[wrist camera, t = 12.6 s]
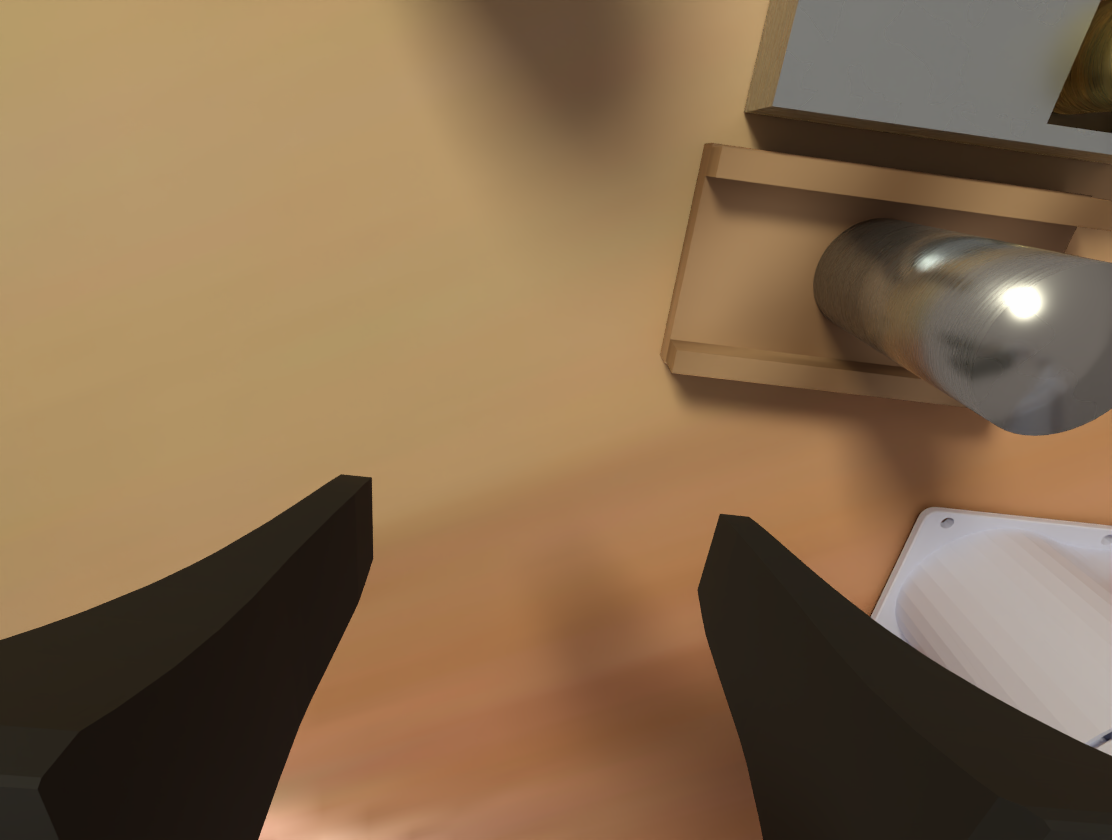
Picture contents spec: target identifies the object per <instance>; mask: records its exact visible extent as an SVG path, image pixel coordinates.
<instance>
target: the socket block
mask: <svg viewBox="0 0 1112 840" xmlns="http://www.w3.org/2000/svg"><path fill="white" fill-rule="evenodd" d="M1100 1H1101V0H770V3H769V8H768V12H767V16H766V21H765V25H764V29H763V34H762V38H761V42H760V46H759V51H758V55H757V59H756V64H755V68H754V72H753V76H752V81H751V85H750V89H749V94H748V98H747V102H746V106H745V111H744V112H746V113H753V114H760V115H767V116H774V117H781V118H788V119H795V120H802V121H809V122H816V123H823V124H830V125H837V126H844V127H851V128H859V129H866V130H873V131H880V132H887V133H894V134H901V135H908V136H915V137H922V138H929V139H936V140H943V141H950V142H957V143H964V144H971V145H978V146H985V147H992V148H999V149H1006V150H1013V151H1020V152H1027V153H1034V154H1041V155H1048V156H1055V157H1062V158H1069V159H1076V160H1084V161H1091V162H1098V163H1105V164H1112V131H1111V133H1107V132H1100V131H1093V130H1086V129H1079V128H1072V127H1066V126H1059V125H1052V124H1047V122H1048V120H1049V118H1050V115H1051V113H1052V111H1053V108H1054V106H1055V104H1056V101H1057V99H1058V97H1059V95H1060V92H1061V90H1062V88H1063V85H1064V83H1065V81H1066V79H1067V76H1068V74H1069V72H1070V69H1071V67H1072V65H1073V63H1074V60H1075V58H1076V56H1077V53H1078V51H1079V49H1080V47H1081V44H1082V42H1083V40H1084V37H1085V35H1086V33H1087V31H1088V28H1089V26H1090V24H1091V21H1092V19H1093V17H1094V15H1095V12H1096V10H1097V8H1098V5H1099V3H1100Z"/></svg>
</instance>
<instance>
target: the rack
mask: <svg viewBox="0 0 1112 840" xmlns="http://www.w3.org/2000/svg"><path fill="white" fill-rule="evenodd" d="M1091 197H1092V196H1089V195H1082V194H1075V193H1068V192H1060V191H1053V190H1046V189H1039V188H1032V187H1024V186H1017V185H1010V184H1003V183H996V182H988V181H981V180H974V179H967V178H960V177H952V176H945V175H938V174H931V173H924V172H916V171H909V170H902V169H895V168H888V167H880V166H873V165H866V164H859V163H852V162H844V161H837V160H830V159H823V158H816V157H808V156H801V155H794V154H787V153H780V152H772V151H765V150H758V149H751V148H744V147H736V146H729V145H722V144H715V143H708V144H705V145H704V150H703V154H702V159H701V164H700V169H699V173H698V178H697V183H696V188H695V192H694V197H693V202H692V206H691V211H690V216H689V221H688V225H687V230H686V235H685V240H684V244H683V249H682V254H681V259H680V263H679V268H678V273H677V277H676V282H675V287H674V292H673V296H672V301H671V306H670V311H669V315H668V320H667V325H666V329H665V334H664V339H663V344H662V348H661V353H660V355H661V357H662V359H663V361H664V363H665V364H667V365H668V367H669V369H670V370H671V372H672V373H675V374H684V375H692V376H701V377H709V378H718V379H727V380H735V381H744V382H752V383H761V384H769V385H778V386H787V387H795V388H804V389H812V390H821V391H829V392H838V393H846V394H855V395H864V396H872V397H881V398H889V399H898V400H906V401H915V402H924V403H932V404H941V405H949V406H958V407H966V406H964V405H963V404H961V403H959V402H958V401H956V400H955V399H953V398H951V397H950V396H948V395H947V394H945V393H944V392H942V391H940V390H939V389H937V388H936V387H934V386H932V385H931V384H929V383H928V382H926V381H924V380H923V379H921V378H920V377H918V376H916V375H915V374H913V373H912V372H910V371H908V370H907V369H905V368H904V367H902V366H900V365H899V364H897V363H896V362H894V361H892V360H891V359H889V358H888V357H886V356H884V355H883V354H881V353H880V352H878V351H876V350H875V349H873V348H872V347H870V346H869V345H867V344H865V343H864V342H862V341H861V340H859V339H857V338H856V337H854V336H853V335H851V334H849V333H848V332H846V331H845V330H843V329H841V328H840V327H838V326H837V325H835V324H833V323H832V322H830V321H829V320H828V319H827V318H826V317H825V316H824V315H823V314H822V313H821V311H820V310H819V308H818V306H817V304H816V301H815V298H814V292H813V280H814V274H815V270H816V267H817V265H818V262H819V260H820V258H821V256H822V254H823V253H824V251H825V250H826V248H827V247H828V246H829V245H830V243H831V242H832V241H833V240H834V239H835V238H836V237H837V236H838V235H840V234H841V233H842V232H843V231H845V230H846V229H848V228H850V227H851V226H853V225H855V224H857V223H860V222H863V221H866V220H870V219H874V218H890V219H895V220H900V221H905V222H910V223H915V224H920V225H925V226H930V227H935V228H940V229H945V230H950V231H955V232H960V233H965V234H970V235H975V236H980V237H985V238H990V239H995V240H1000V241H1005V242H1010V243H1014V244H1019V245H1024V246H1029V247H1034V248H1039V249H1044V250H1049V251H1054V252H1059V253H1064V252H1065V250H1066V248H1067V246H1068V244H1069V242H1070V240H1071V238H1072V236H1073V234H1074V232H1075V230H1076V228H1077V226H1078V227H1085V228H1093V229H1100V230H1108V231H1111V230H1112V200H1105V199H1098V198H1091ZM966 408H967V407H966Z"/></svg>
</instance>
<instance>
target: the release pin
mask: <svg viewBox="0 0 1112 840" xmlns="http://www.w3.org/2000/svg"><path fill="white" fill-rule="evenodd" d="M1108 111H1112V0H1105V1H1101V2H1100V3H1099V5H1098V8H1097V10H1096V12H1095V15H1094V17H1093V19H1092V21H1091V24H1090V26H1089V28H1088V31H1087V33H1086V35H1085V37H1084V40H1083V42H1082V44H1081V47H1080V49H1079V51H1078V53H1077V56H1076V58H1075V60H1074V63H1073V65H1072V67H1071V69H1070V72H1069V74H1068V76H1067V79H1066V81H1065V83H1064V85H1063V88H1062V90H1061V92H1060V95H1059V97H1058V99H1057V101H1056V104H1055V106H1054V108H1053V112H1055V113H1059V114H1067V115H1068V114H1081V113H1094V112H1108Z"/></svg>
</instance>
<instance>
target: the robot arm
mask: <svg viewBox="0 0 1112 840" xmlns="http://www.w3.org/2000/svg"><path fill="white" fill-rule="evenodd" d="M946 518H947V519H946ZM944 519H946V520H945V521H944V522H942V521H943V520H944ZM372 561H373V523H372V478H371V477H361V476H351V475H342V474H341V475H340V476H338V477H336V478H335V479H333V480H331V481H330V482H328V483H327V484H325V485H324V486H322V487H321V488H319V489H318V490H316V491H315V492H313V493H312V494H310V495H309V496H307V497H306V498H304V499H303V500H301V501H300V502H298V503H297V504H295V505H294V506H292V507H290V508H289V509H287V510H286V511H284V512H283V513H281V514H280V515H278V516H276V517H275V518H273V519H272V520H270V521H269V522H267V523H265V524H264V525H262V526H260V527H259V528H257V529H255V530H254V531H252V532H250V533H248V534H247V535H245V536H243V537H242V538H240V539H238V540H236V541H235V542H233V543H231V544H230V545H228V546H226V547H224V548H223V549H221V550H219V551H217V552H216V553H214V554H212V555H210V556H208V557H206V558H204V559H202V560H200V561H198V562H196V563H194V564H193V565H191V566H188V567H186V568H184V569H182V570H180V571H178V572H176V573H174V574H172V575H170V576H168V577H165V578H163V579H161V580H159V581H157V582H155V583H152V584H150V585H148V586H146V587H143V588H141V589H138V590H136V591H133V592H131V593H128V594H126V595H123V596H121V597H119V598H116V599H114V600H111V601H109V602H106V603H104V604H101V605H99V606H97V607H94V608H92V609H89V610H87V611H84V612H81V613H79V614H76V615H73V616H70V617H68V618H65V619H62V620H59V621H56V622H54V623H51V624H48V625H45V626H42V627H39V628H36V629H33V630H30V631H27V632H24V633H21V634H18V635H15V636H12V637H9V638H6V639H3V640H0V840H258V838H259V836H260V833H261V830H262V827H263V824H264V821H265V819H266V816H267V813H268V810H269V807H270V805H271V802H272V799H273V796H274V793H275V790H276V788H277V785H278V782H279V779H280V777H281V774H282V771H283V769H284V766H285V763H286V761H287V758H288V755H289V753H290V750H291V747H292V745H293V742H294V739H295V736H296V734H297V731H298V729H299V726H300V724H301V721H302V719H303V717H304V715H305V712H306V710H307V708H308V706H309V703H310V701H311V699H312V697H313V695H314V693H315V691H316V689H317V687H318V685H319V683H320V681H321V679H322V677H323V675H324V673H325V671H326V669H327V666H328V664H329V662H330V660H331V658H332V656H333V654H334V652H335V650H336V648H337V646H338V644H339V642H340V640H341V638H342V636H343V634H344V632H345V630H346V628H347V626H348V623H349V621H350V619H351V617H352V615H353V613H354V611H355V609H356V607H357V605H358V602H359V600H360V597H361V594H362V591H363V588H364V585H365V582H366V579H367V576H368V573H369V570H370V567H371V564H372ZM698 595H699V601H700V607H701V613H702V618H703V623H704V628H705V633H706V637H707V640H708V644H709V647H710V650H711V653H712V656H713V659H714V662H715V665H716V669H717V672H718V675H719V678H720V681H721V684H722V687H723V690H724V693H725V696H726V699H727V702H728V705H729V708H730V711H731V714H732V717H733V720H734V723H735V726H736V729H737V732H738V735H739V738H740V742H741V745H742V749H743V752H744V756H745V759H746V763H747V767H748V771H749V776H750V780H751V785H752V789H753V794H754V798H755V802H756V807H757V811H758V816H759V821H760V826H761V831H762V836H763V840H1112V526H1110V525H1101V524H1091V523H1082V522H1073V521H1063V520H1054V519H1045V518H1035V517H1026V516H1017V515H1007V514H998V513H988V512H979V511H970V510H960V509H951V508H942V507H930V508H927V509H925V510H923V511H922V512H921V513H920V515H919V517H918V519H917V521H916V523H915V525H914V527H913V529H912V531H911V533H910V535H909V538H908V540H907V542H906V544H905V546H904V548H903V550H902V552H901V554H900V556H899V558H898V561H897V563H896V565H895V567H894V569H893V571H892V573H891V575H890V577H889V579H888V582H887V584H886V586H885V588H884V590H883V592H882V594H881V596H880V598H879V600H878V603H877V605H876V607H875V609H874V611H873V613H872V615H871V617H869V616H868V615H867V614H866V613H864V612H863V611H862V610H860V609H859V608H858V607H856V606H855V605H854V604H853V603H851V602H850V601H849V600H847V599H846V598H845V597H844V596H842V595H841V594H840V593H839V592H837V591H836V590H835V589H834V588H832V587H831V586H830V585H829V584H828V583H826V582H825V581H824V580H823V579H822V578H820V577H819V576H818V575H817V574H816V573H815V572H813V571H812V570H811V569H810V568H809V567H807V566H806V565H805V564H804V563H803V562H802V561H801V560H799V559H798V558H797V557H796V556H795V555H794V554H793V553H791V552H790V551H789V550H788V549H787V548H786V547H785V546H783V545H782V544H781V543H780V542H779V541H778V540H777V539H775V538H774V537H773V536H772V535H771V534H770V533H768V532H767V531H766V530H765V529H764V528H762V527H761V526H760V525H759V524H758V523H756V522H755V521H754V520H752V519H751V518H750V517H745V516H736V515H726V514H720V516H719V519H718V523H717V526H716V529H715V533H714V536H713V539H712V543H711V546H710V550H709V553H708V556H707V560H706V563H705V567H704V570H703V573H702V577H701V580H700V583H699V587H698Z"/></svg>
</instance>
